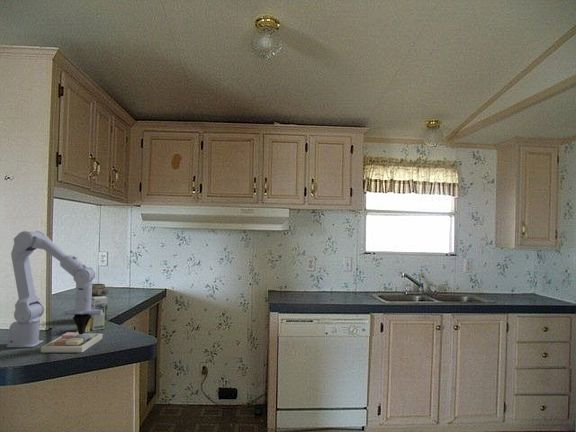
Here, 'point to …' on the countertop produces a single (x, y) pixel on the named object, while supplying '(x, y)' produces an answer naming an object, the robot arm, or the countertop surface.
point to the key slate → (82, 336)
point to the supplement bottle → (86, 327)
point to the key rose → (69, 335)
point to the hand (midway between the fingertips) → (81, 333)
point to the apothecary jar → (99, 290)
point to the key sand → (74, 341)
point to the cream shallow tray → (71, 346)
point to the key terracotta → (60, 342)
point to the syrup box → (96, 320)
